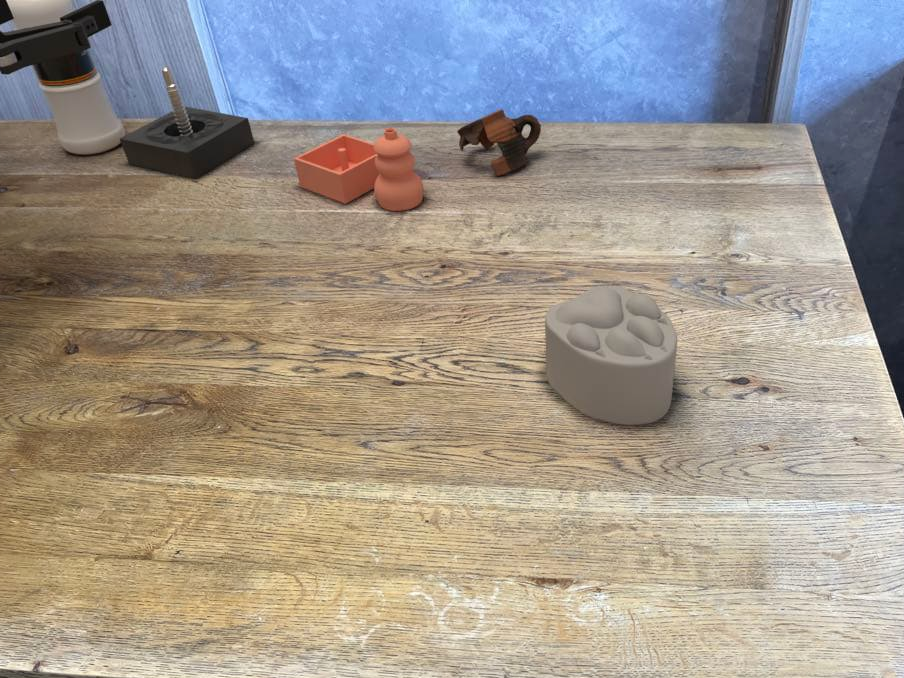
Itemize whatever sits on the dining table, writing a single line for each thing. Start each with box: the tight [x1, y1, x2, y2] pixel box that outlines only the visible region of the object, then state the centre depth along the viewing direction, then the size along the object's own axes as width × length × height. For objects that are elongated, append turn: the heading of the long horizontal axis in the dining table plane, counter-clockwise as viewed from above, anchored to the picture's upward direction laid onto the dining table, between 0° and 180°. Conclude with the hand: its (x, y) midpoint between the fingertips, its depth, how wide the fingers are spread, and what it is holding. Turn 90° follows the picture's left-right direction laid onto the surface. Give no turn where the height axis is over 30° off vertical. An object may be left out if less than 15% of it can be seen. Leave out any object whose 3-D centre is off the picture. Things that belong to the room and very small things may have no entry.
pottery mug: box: [456, 109, 542, 177], centre depth 118 cm, size 12×10×8 cm
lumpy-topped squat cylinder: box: [544, 285, 678, 426], centre depth 78 cm, size 10×13×9 cm
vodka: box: [6, 0, 126, 156], centre depth 118 cm, size 9×9×30 cm
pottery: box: [293, 127, 424, 212], centre depth 110 cm, size 18×10×10 cm, turn 54°
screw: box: [161, 65, 195, 137], centre depth 120 cm, size 13×5×5 cm
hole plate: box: [120, 106, 255, 180], centre depth 123 cm, size 13×13×4 cm
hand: (55, 9), depth 96 cm, fingers open, 13 cm apart
